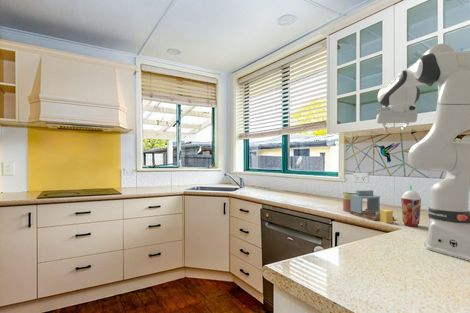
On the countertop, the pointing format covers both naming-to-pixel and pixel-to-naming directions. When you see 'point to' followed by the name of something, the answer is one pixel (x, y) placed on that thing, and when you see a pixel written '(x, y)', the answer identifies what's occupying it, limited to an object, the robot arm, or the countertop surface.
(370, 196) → the cover
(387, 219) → the yellow block
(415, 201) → the smoothie
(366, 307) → the countertop surface
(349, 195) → the canned food
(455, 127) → the robot arm
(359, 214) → the peg board
